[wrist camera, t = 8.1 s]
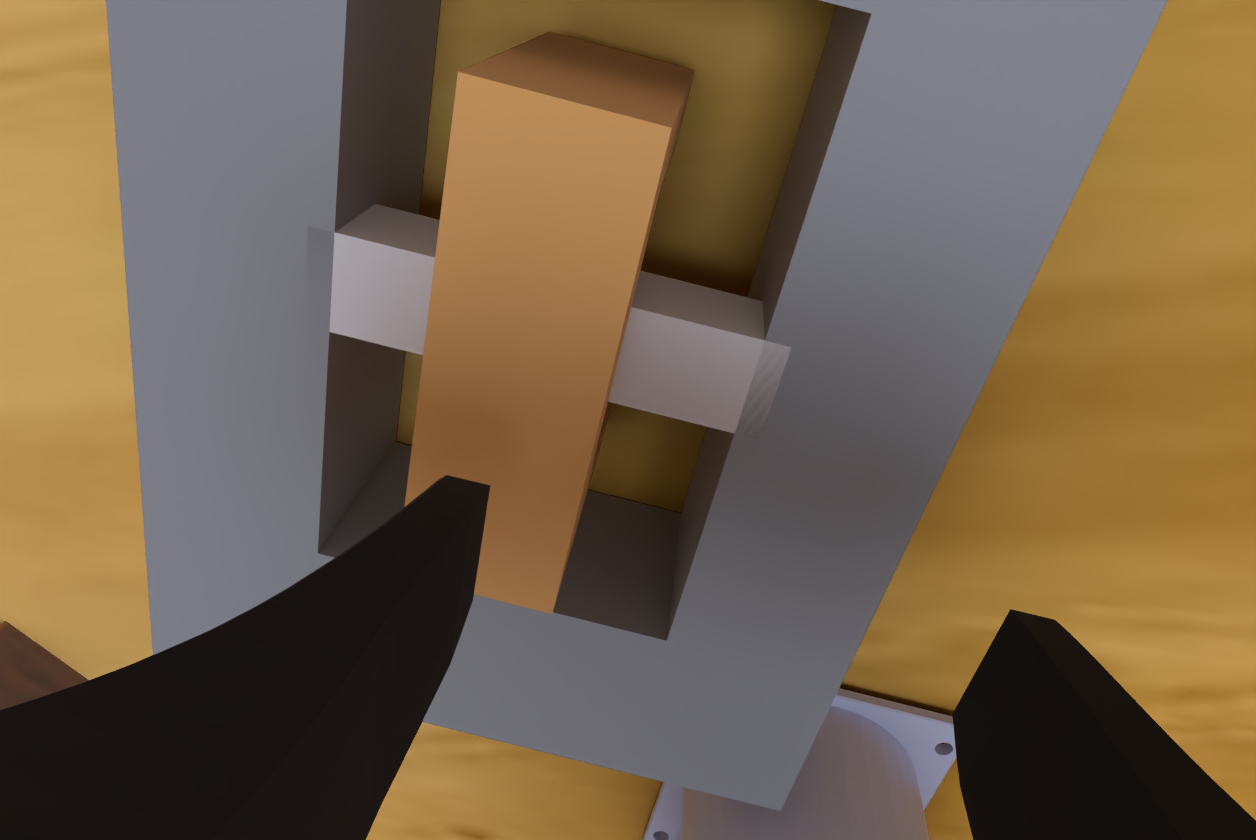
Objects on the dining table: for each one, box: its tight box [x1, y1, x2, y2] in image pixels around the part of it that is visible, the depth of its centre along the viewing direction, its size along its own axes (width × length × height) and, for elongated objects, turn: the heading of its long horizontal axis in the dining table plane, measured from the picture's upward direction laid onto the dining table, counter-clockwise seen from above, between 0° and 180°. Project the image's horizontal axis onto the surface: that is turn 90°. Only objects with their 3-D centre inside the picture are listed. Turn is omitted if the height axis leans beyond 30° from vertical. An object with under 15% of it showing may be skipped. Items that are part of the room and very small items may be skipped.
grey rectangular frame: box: [106, 0, 1168, 811], centre depth 18 cm, size 22×16×5 cm
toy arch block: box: [404, 32, 694, 614], centre depth 17 cm, size 9×3×6 cm, turn 167°
